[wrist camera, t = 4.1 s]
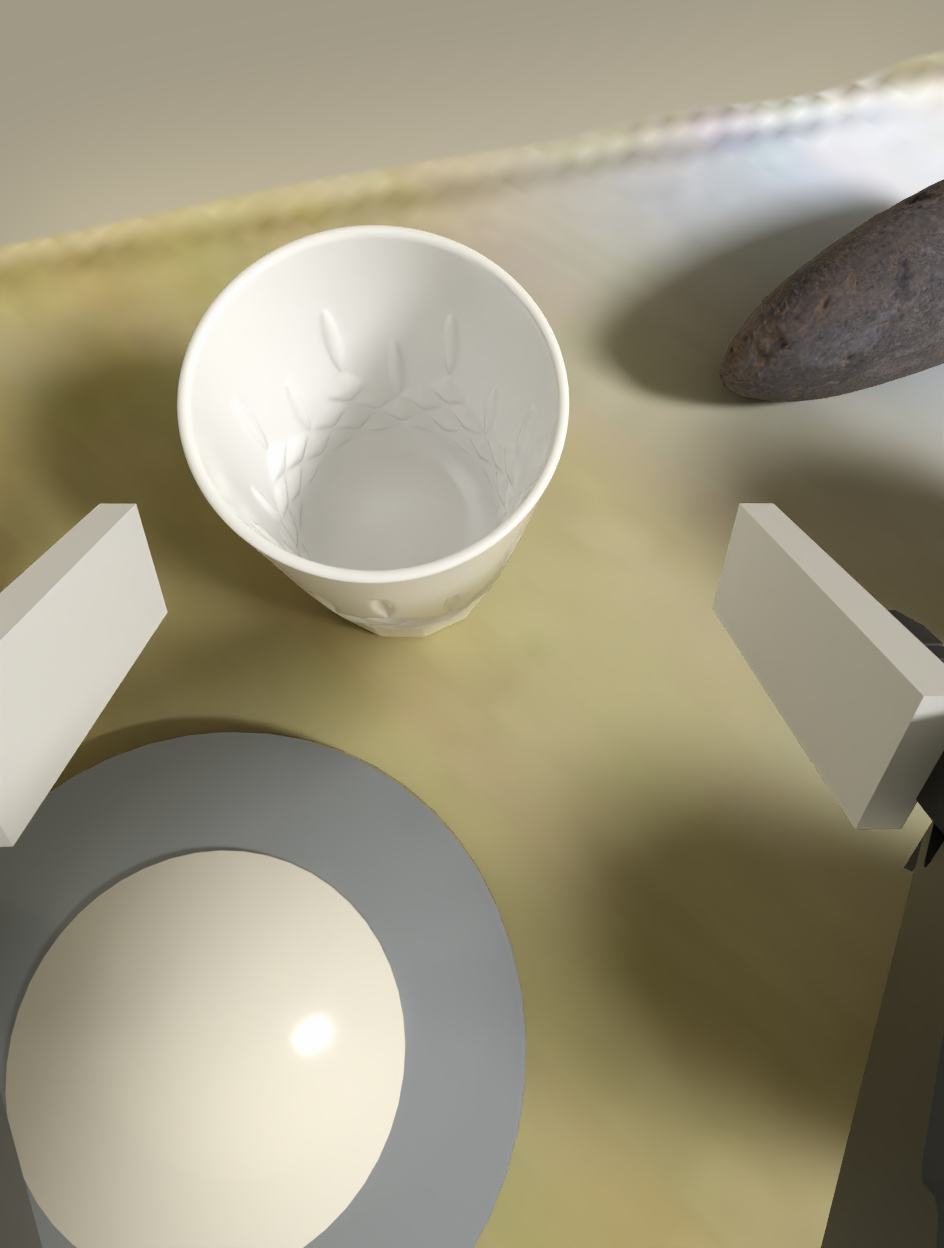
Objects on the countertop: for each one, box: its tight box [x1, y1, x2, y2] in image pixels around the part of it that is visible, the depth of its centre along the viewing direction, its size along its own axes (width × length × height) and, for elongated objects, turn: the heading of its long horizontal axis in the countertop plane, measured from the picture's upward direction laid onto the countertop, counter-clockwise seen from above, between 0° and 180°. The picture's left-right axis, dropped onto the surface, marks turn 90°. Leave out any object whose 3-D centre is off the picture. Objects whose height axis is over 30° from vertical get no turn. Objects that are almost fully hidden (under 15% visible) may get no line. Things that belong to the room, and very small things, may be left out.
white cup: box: [177, 225, 569, 637], centre depth 18 cm, size 8×8×10 cm
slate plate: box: [0, 732, 526, 1248], centre depth 19 cm, size 18×18×2 cm
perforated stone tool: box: [719, 180, 944, 402], centre depth 22 cm, size 15×5×7 cm, turn 112°
